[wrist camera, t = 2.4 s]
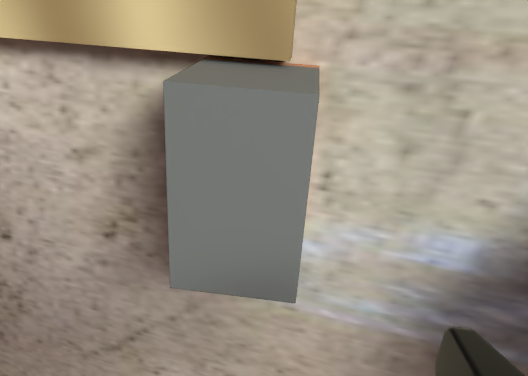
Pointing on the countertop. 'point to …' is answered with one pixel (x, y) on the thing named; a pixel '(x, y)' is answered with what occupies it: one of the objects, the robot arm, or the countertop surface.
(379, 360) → the countertop surface
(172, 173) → the block
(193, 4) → the board
